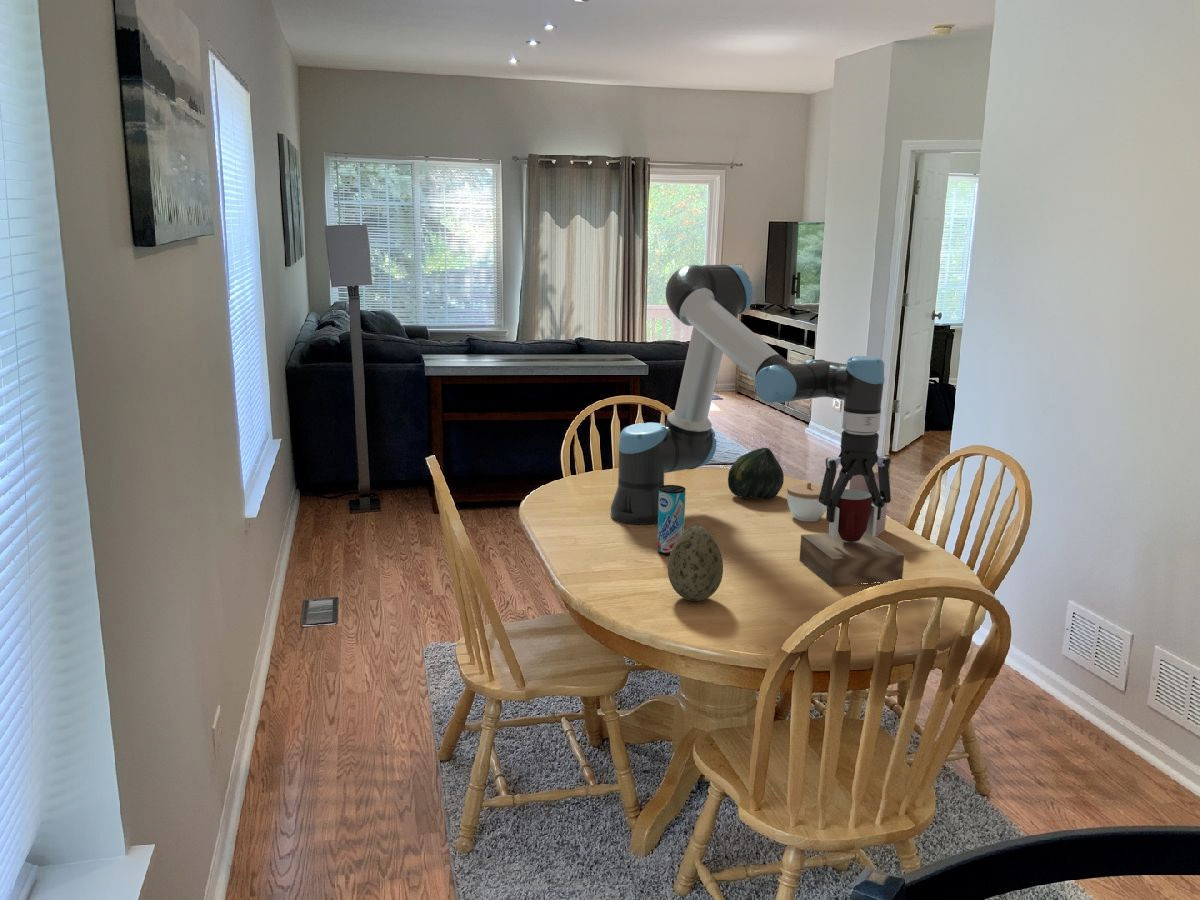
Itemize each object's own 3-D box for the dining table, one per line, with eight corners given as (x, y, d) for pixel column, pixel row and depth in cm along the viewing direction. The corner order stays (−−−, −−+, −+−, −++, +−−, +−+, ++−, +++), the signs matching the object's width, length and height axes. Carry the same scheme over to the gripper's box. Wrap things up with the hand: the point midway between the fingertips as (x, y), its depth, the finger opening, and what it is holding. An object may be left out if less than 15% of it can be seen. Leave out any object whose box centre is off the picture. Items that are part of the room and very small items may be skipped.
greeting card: (882, 529, 231) (887, 470, 227) (901, 537, 224) (907, 477, 221) (843, 533, 227) (848, 473, 223) (862, 542, 220) (867, 481, 216)
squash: (713, 471, 262) (736, 440, 251) (758, 469, 268) (782, 438, 257) (731, 514, 254) (756, 483, 243) (776, 510, 261) (802, 480, 250)
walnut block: (830, 586, 192) (833, 559, 190) (799, 560, 207) (801, 534, 206) (901, 582, 195) (904, 555, 193) (865, 556, 210) (867, 531, 209)
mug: (873, 549, 194) (875, 503, 191) (833, 548, 195) (835, 502, 193) (867, 533, 204) (869, 489, 201) (830, 532, 205) (831, 488, 203)
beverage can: (651, 551, 211) (653, 487, 208) (668, 546, 215) (671, 483, 212) (671, 558, 207) (673, 493, 204) (688, 552, 211) (691, 488, 208)
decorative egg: (701, 586, 191) (704, 515, 187) (732, 604, 182) (736, 530, 178) (656, 594, 186) (658, 522, 182) (686, 613, 177) (689, 538, 173)
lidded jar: (817, 527, 231) (820, 490, 229) (778, 518, 237) (780, 483, 235) (834, 517, 240) (837, 482, 237) (796, 509, 246) (798, 475, 244)
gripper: (821, 436, 188) (813, 543, 193) (915, 433, 192) (905, 538, 198) (806, 428, 195) (799, 532, 201) (897, 426, 200) (887, 527, 205)
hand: (851, 535), depth 199 cm, fingers closed on mug, 8 cm apart
